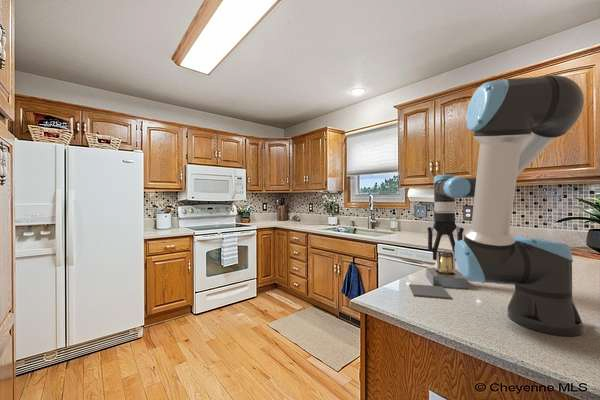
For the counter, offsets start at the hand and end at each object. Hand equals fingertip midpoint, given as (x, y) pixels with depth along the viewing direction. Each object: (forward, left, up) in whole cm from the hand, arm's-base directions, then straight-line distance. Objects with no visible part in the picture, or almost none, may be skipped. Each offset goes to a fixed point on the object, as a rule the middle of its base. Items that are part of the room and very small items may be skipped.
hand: (445, 268), depth 108 cm
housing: (0, 0, -6) cm, 6 cm away
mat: (-14, +9, -6) cm, 18 cm away
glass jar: (0, 0, -6) cm, 6 cm away
